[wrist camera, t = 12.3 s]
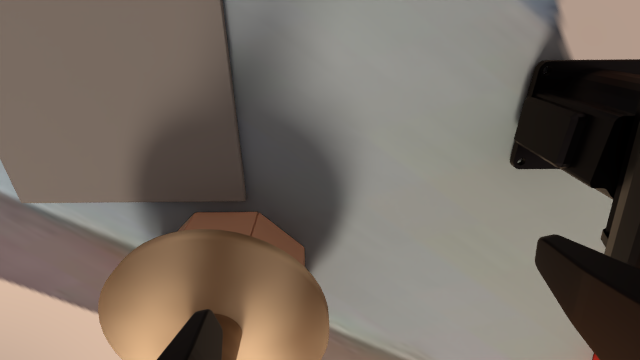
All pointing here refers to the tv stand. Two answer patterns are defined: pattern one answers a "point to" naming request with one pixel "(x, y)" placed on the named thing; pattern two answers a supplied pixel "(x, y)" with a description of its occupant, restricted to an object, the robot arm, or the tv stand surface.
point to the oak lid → (214, 297)
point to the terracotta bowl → (247, 229)
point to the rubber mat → (118, 101)
